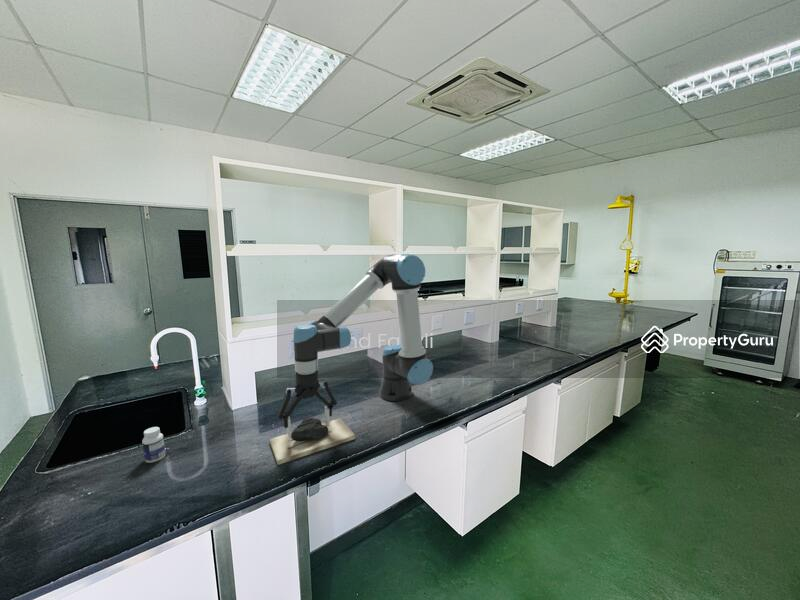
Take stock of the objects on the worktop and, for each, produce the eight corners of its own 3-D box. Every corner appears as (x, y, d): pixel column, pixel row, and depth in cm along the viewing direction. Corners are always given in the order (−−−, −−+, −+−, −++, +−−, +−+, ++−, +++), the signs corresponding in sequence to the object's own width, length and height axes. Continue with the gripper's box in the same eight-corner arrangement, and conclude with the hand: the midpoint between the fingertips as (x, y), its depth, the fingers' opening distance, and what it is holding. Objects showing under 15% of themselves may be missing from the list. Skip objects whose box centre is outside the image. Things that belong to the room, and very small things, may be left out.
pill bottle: (143, 458, 103) (139, 430, 102) (164, 450, 107) (160, 423, 105) (145, 465, 99) (142, 436, 98) (166, 457, 103) (163, 429, 102)
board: (340, 421, 124) (340, 418, 124) (355, 438, 112) (354, 434, 112) (269, 442, 110) (269, 438, 110) (277, 464, 99) (277, 460, 98)
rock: (330, 433, 115) (306, 423, 117) (332, 421, 112) (307, 411, 115) (314, 455, 105) (288, 444, 108) (315, 443, 103) (289, 431, 105)
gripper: (337, 361, 117) (338, 416, 120) (265, 374, 104) (269, 435, 107) (345, 367, 111) (346, 425, 113) (269, 381, 98) (273, 446, 101)
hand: (308, 430), depth 110 cm, fingers closed on rock, 13 cm apart
